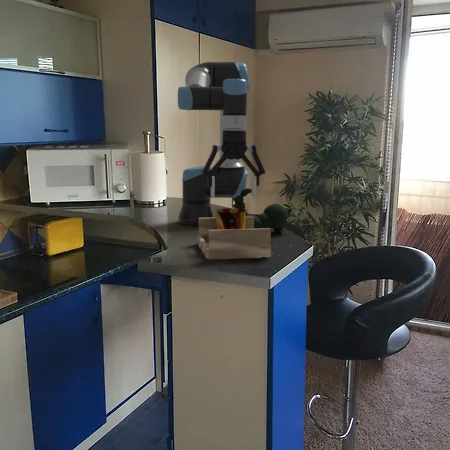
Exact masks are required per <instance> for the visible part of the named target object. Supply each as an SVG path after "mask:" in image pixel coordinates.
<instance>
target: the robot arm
mask: <svg viewBox="0 0 450 450" xmlns="http://www.w3.org/2000/svg"><path fill="white" fill-rule="evenodd" d="M184 81H185V82H184V83H185V86H179V87H178V89H177V107H178V109H179V110H183V111H220V112H219V114H220V115H219V145H216V144H212V147H211V152H210V154H209V157H208V158H207V161H206V163H205V165H203V166H193V167H188V168H186V169H183V172H182V180H181V182H182V205H181V209H180V211H179V215H178V217H177V218H178V220H177V221H178V224H180V223H181V224H180V225H184V224H185V225H186V226H199V218H214V217H215V215H214V212H213V209H212V205H211V198H214V199H220V198H221V199H222V198H223V199H227V198H229V199H233V198H235V197H236V196H237V195H240V193H241V191H242V190H243V189H246V188H247V182H248V170H247V169H245V165H246V166H247V167H248V168H249V169H250V171H251V172H252V174H254V175H252V176H251V189H252V193H251V196H252V197H257V187H258V186H259V185H260V176H262V175H265V174H266V170H265V168H264V166H263V164H262V162H261V159H260V158H259V155H258V153H257V146H256V145H254V144H251V145H247V131H246V130H245V129H247V108H248V107H247V106H248V94H249V92H250V78H249V73H248V66H247V64H245V63H244V62H239V61H238V62H237V61H236V62H235V61H213V62H212V61H206V62H205V61H204V62H201V63H198V64H196V65H195V66H193V67H191V68H190V69H189V70H187V73H186V75H185V79H184ZM246 152H249V153H251V156H252V159H253V160H254V162H255V164H256V166H254V165H253V164H252V162H251V161H250V160H249V158H248V156H246ZM217 153H219V159H218V160H217V162H215V164H214V165H213V166H212V164H213V162H214V159H215V158H216V156H217ZM241 160H242V161H243V162H244V163H245V165H244V164H243V162H242V161H241ZM211 166H212V167H211ZM256 167H257V168H258V169H257V168H256Z"/></svg>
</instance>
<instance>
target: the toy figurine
mask: <svg viewBox="0 0 450 450" xmlns="http://www.w3.org/2000/svg"><path fill="white" fill-rule="evenodd" d="M249 194H252V188H249V187H248V188H247V187H246V189H243V190H242V191H241V193H240V195H237V196H236V197H235V198H232V201H233V202H234V203H233V204H232V208H237V209H243V210H245V217H250V216H249V215H248V212H247V211H248V210H247V209H246V203H245V202H244V199H245V197H246V196H248V195H249ZM292 210H293V208H292V207H284V205H282V204H280V203H279V204H278V203H272V204H269V205H267V206H266V207H265V208H264V210H263V212H262V213H260V214H258V215H256V217H254V216H253V217H254V229H261V228H270V229H271V231H272V229H273V231H274V232H276V233H281V232H283V231H284V228H283V227H284V226H285V225H287V224H288V215H289V213H290V212H291V211H292Z"/></svg>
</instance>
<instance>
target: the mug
mask: <svg viewBox="0 0 450 450" xmlns="http://www.w3.org/2000/svg"><path fill="white" fill-rule="evenodd" d="M215 214H216V215H215V217H216V230H223V229H245V210H243V209H237V208H233V207H232V208H230V207H229V208H228V207H227V208H226V207H225V208H217V209H216V210H215Z"/></svg>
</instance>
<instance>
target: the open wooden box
mask: <svg viewBox="0 0 450 450" xmlns="http://www.w3.org/2000/svg"><path fill="white" fill-rule="evenodd" d="M271 229H272V228H271ZM271 229H270V228H261V229H254V216H249V217H245V229H223V230H216V216H214V218H199V225H198V235H197V245H198V247H199V249H200V250H201V252H202V254H203V255H204V256H205V258H206V259H208V260H209V261H210V260H228V259H229V260H231V259H235V260H236V259H262V257H265V258H271V257H272V247H271V234H272V230H271Z"/></svg>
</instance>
